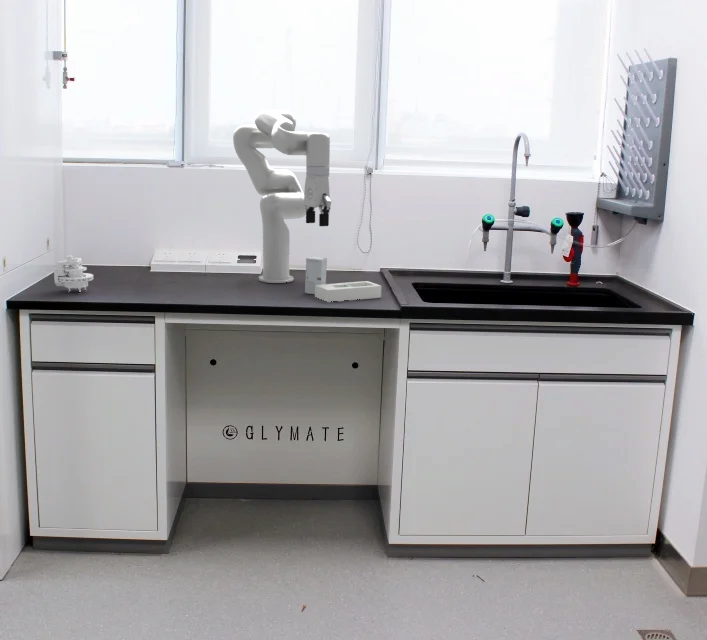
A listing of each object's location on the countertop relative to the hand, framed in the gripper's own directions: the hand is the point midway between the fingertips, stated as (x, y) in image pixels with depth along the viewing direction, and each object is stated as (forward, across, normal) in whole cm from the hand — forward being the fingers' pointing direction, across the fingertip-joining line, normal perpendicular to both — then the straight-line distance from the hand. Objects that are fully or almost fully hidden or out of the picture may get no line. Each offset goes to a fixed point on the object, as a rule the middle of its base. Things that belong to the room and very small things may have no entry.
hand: (317, 224), depth 261 cm
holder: (+23, +10, +7) cm, 26 cm away
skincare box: (+23, 0, 0) cm, 23 cm away
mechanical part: (+23, -32, -72) cm, 82 cm away
